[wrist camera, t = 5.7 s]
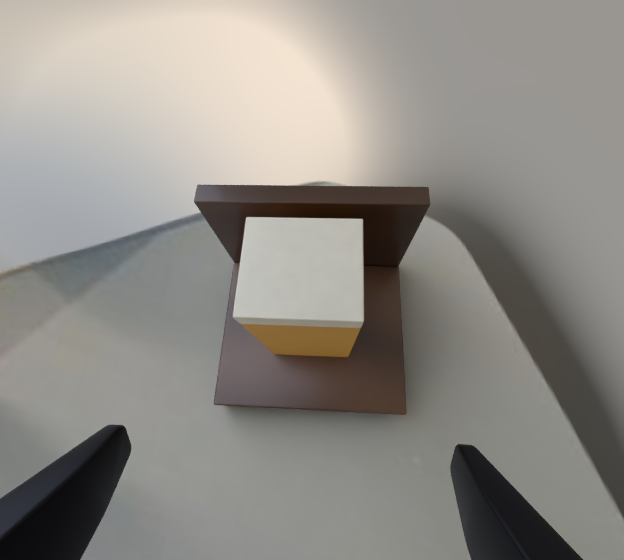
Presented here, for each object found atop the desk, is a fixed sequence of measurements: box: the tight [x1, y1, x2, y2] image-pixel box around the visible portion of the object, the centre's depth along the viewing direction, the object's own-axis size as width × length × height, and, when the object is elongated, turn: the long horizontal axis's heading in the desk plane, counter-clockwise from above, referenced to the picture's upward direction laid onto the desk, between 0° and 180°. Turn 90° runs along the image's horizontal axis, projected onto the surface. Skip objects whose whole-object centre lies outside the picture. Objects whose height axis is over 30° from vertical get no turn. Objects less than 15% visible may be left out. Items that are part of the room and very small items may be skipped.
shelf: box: [194, 185, 430, 415], centre depth 18 cm, size 10×11×9 cm
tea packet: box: [233, 217, 364, 357], centre depth 16 cm, size 4×4×9 cm
